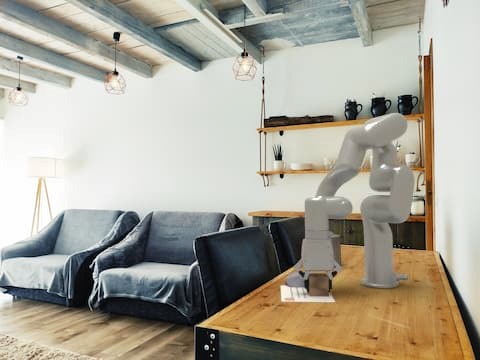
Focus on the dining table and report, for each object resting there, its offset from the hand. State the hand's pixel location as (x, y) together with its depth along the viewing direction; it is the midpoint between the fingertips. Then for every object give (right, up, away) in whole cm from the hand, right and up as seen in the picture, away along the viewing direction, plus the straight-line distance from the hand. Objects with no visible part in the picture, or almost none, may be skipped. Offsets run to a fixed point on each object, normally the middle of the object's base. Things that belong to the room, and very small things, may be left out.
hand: (318, 290), depth 120 cm
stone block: (-4, -2, +14) cm, 15 cm away
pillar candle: (+16, -3, +49) cm, 51 cm away
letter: (-4, -1, +1) cm, 4 cm away
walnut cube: (0, -1, 0) cm, 1 cm away
